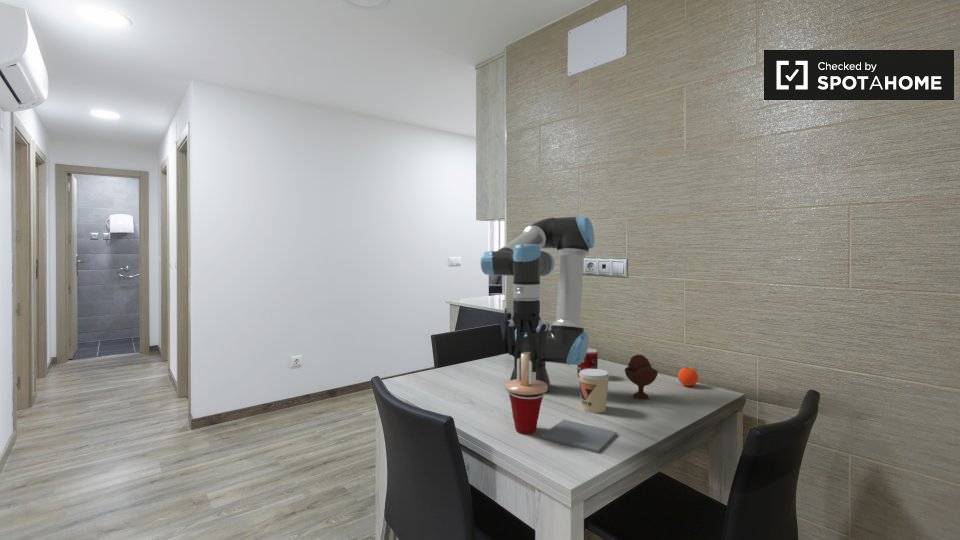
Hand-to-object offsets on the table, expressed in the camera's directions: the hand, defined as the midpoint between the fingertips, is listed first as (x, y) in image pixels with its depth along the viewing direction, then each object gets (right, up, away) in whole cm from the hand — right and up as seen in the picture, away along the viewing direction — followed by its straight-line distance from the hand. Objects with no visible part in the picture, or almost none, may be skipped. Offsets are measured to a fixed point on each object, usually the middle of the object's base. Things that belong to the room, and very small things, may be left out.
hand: (526, 381), depth 126 cm
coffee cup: (+24, -14, +18) cm, 33 cm away
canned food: (+30, -12, +55) cm, 64 cm away
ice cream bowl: (+43, -13, +30) cm, 54 cm away
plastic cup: (0, -14, +1) cm, 14 cm away
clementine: (+66, -12, +43) cm, 80 cm away
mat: (+14, -14, -4) cm, 20 cm away
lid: (0, -2, 0) cm, 2 cm away
